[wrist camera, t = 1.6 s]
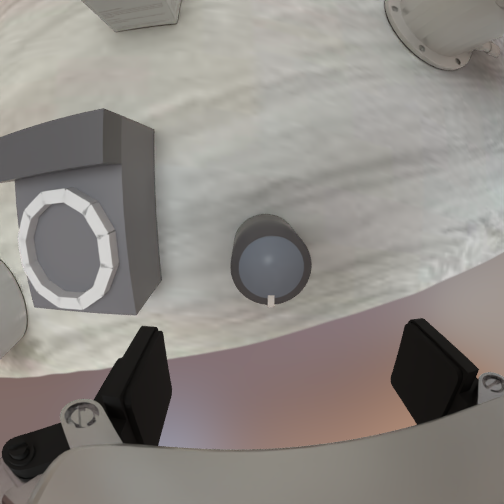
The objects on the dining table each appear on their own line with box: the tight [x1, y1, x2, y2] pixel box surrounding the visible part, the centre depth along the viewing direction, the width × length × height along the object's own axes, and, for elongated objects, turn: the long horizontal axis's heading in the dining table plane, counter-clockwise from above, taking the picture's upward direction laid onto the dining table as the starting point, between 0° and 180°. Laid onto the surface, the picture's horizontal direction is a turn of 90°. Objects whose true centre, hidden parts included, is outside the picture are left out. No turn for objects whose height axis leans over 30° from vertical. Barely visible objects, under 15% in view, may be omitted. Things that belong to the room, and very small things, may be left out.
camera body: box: [0, 108, 162, 315], centre depth 22 cm, size 11×15×11 cm
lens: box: [231, 214, 311, 307], centre depth 25 cm, size 6×6×7 cm
